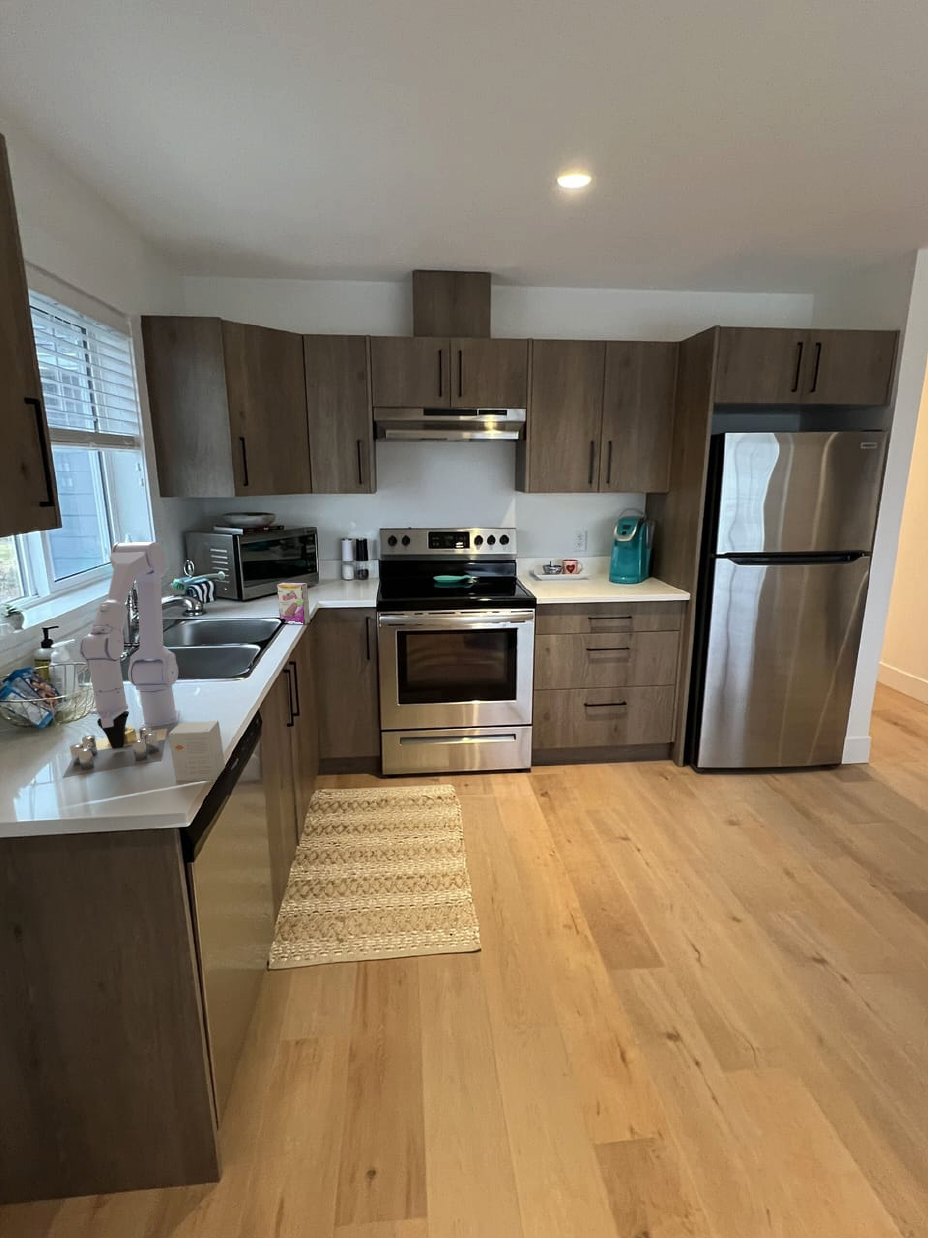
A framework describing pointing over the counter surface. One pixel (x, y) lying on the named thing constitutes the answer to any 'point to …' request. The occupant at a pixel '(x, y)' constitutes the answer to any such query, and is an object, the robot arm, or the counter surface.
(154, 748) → the standing spacers
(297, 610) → the candy bar box
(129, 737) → the brass nut
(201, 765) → the small box
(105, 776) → the counter surface
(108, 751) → the spacer mat
